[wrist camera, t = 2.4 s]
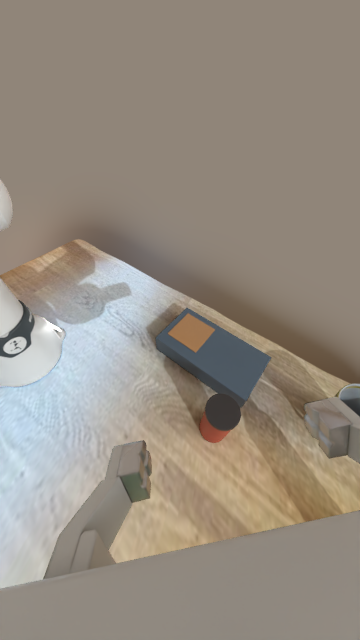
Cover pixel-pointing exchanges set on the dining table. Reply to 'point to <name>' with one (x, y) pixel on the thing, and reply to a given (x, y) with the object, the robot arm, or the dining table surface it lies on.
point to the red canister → (219, 417)
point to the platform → (213, 355)
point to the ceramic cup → (351, 397)
